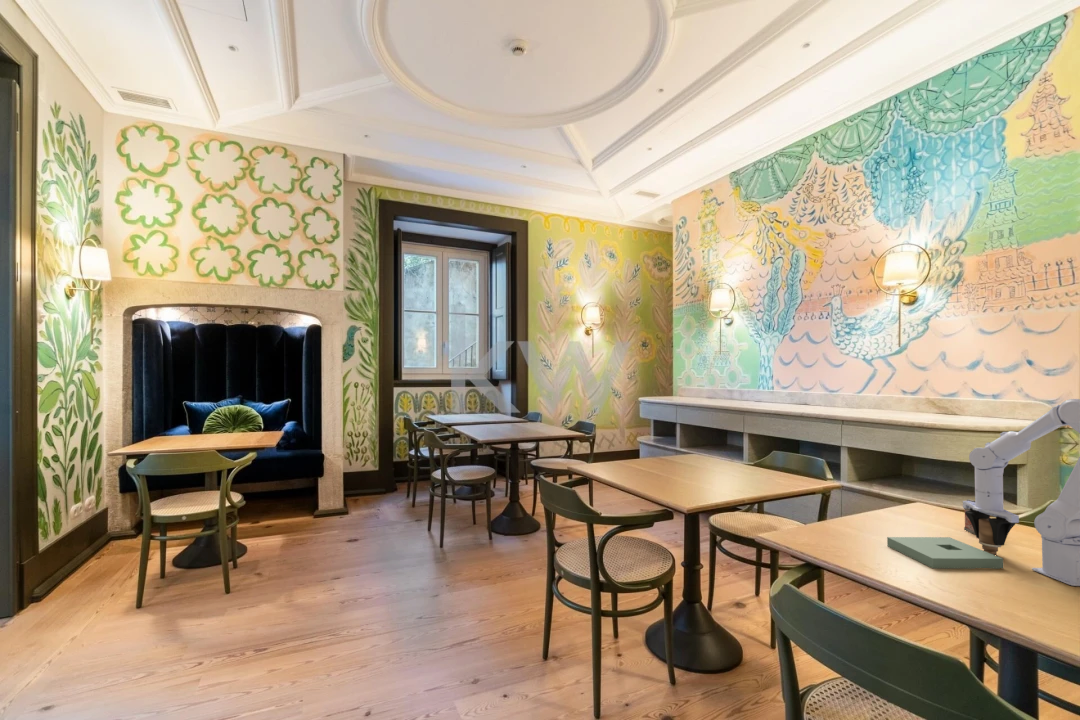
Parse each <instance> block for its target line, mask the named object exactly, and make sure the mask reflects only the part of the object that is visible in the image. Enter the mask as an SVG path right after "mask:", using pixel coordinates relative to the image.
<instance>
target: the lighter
mask: <svg viewBox="0 0 1080 720" xmlns="http://www.w3.org/2000/svg"><path fill="white" fill-rule="evenodd" d="M965 501H972V502H975V499H974V500H973V499H971V498H970V499H969V498H967V499H966V500H965ZM963 510H964V512H965V511H969V510H970V509H969V508H963ZM991 517H992V516H991V515H990V517H989V518H991ZM963 530H964V531H965V530H966V531H965V532H967V531H968V532H967V533H969V532H970V534H972V533H973V534H972V535H974V534H975V532H974V529H973V526H972V524H971V522H970V520H969V518H968V517H967V515H966V514H965V513H964V527H963Z"/></svg>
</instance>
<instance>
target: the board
mask: <svg viewBox="0 0 1080 720" xmlns="http://www.w3.org/2000/svg"><path fill="white" fill-rule="evenodd" d="M886 539H887V540H886V541H887V542H886V543H887V547H888V548H891V549H893V550H895V551H897V552H899V553H901V554H903V555H905V556H907V557H908V558H911V559H913V560H915V561H917V562H919V563H921V564H923V565H925V566H927V567H929V568H931V569H975V568H990V570H991V568H992V569H997V570H999V569H1000V568H1002V569H1004V558H1002V557H1000V556H997V555H996V556H995V555H993V554H990V553H988V552H985V551H984V549H983V550H982V549H980V548H977V547H975V546H972V545H970V544H967V543H965V542H962V541H960V540H958V539H955V538H952V537H949V536H947V537H946V536H945V537H941V536H937V537H936V536H935V537H934V536H933V537H931V536H920V537H919V536H917V537H915V536H899V537H898V536H887V538H886ZM1000 570H1001V569H1000Z"/></svg>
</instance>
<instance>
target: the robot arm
mask: <svg viewBox="0 0 1080 720" xmlns="http://www.w3.org/2000/svg"><path fill="white" fill-rule="evenodd" d="M1064 426H1069V427H1070V428H1071V429H1073V430H1074V431H1076V432H1078V433H1079V434H1080V398H1069V399H1067V400H1064V401H1062V402H1061V403H1060V404H1058V405H1055V406H1053V407H1051V409H1049V410H1048V411H1047V412H1046V413H1044V414H1043V415H1041V416H1040V417H1038V418H1037V419H1035V420H1034V421H1032V422H1031V423H1030V424H1028V425H1026V426H1024V427H1023V428H1022V429H1020V430H1019V431H1013V430H1011V431H1002V432H1000V433H999V437H998V438H996V439H995V440H992V441H991V442H986V443H985V444H984V447H975V448H973V449H972V451H971V452H970V453H969V456H968V458H969V459H968V460H969V462H970V464H971V465H972V466H973V467H974V498H975V499H974V501H975V502H972V501H966V500H962V508H963V509H964V508H969V509H970V510H969V511H965V510H964V515H965V514H966V515H967V517H968V518H969V520H970V522H971V524H972V526H973V529H974V532H975V537H976V539H979V519H988V520H989V522H990V525H991V528H992V532H993V541H994V544H995V545H1001V546H1005V543H1006V540H1007V538H1008V535H1009V534H1010V531H1011V530H1012V528H1013V527H1014V526H1016V524H1018V523H1020V519H1019V517H1020V515H1018V514H1015V513H1012V512H1011V511H1008V510H1006V509H1004V507H1005V506H1004V476H1003V475H1004V469H1005V468H1006V467H1007V466H1008V465H1009V461H1011V460H1013V459H1015V458H1017V457H1019V456H1020V455H1022V454H1024V453H1025V452H1027V451H1030V449H1031V447H1032V442H1034V441H1036V440H1038V439H1039V438H1041V437H1044V436H1046V435H1047V434H1049V433H1052V432H1053V431H1056V430H1057V429H1058V428H1062V427H1064ZM990 515H991V516H990ZM989 517H990V518H989ZM991 517H992V518H991ZM1033 521H1034V522H1033V523H1034V524H1033V525H1034V528H1035V529H1036V531H1037V532H1038V533H1039V534H1040V535H1041V536H1040V538H1041V563H1042V567H1032V568H1031V570H1032V571H1035V572H1037V573H1039V574H1041V575H1044V576H1046V577H1049V578H1052V579H1054V580H1057V581H1059V582H1062V583H1065V584H1066V585H1068V586H1071V587H1080V456H1078V459H1077V461H1076V463H1075V465H1074V467H1073V468H1072V471H1071V473H1070V474H1069V476H1068V478H1067V480H1066V481H1065V484H1064V486H1063V488H1062V490H1061V491H1060V494H1059V495H1058V497H1057V499H1056V500H1054V501H1053V502H1051V503H1050V504H1049V505H1048V506H1047V507H1046V509H1044V511H1043V512H1042V513H1040V514H1038V515H1036V517H1035V519H1034V520H1033Z"/></svg>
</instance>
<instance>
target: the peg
mask: <svg viewBox="0 0 1080 720" xmlns="http://www.w3.org/2000/svg"><path fill="white" fill-rule="evenodd" d="M978 543H979V544H980V545H981V550H982V549H983V551H985V552H988V553H990V554H993V555H996V556H997V552H998V551H999V548H1001V547H1002V545H995V544H994V541H993V532H992V528H991V525H990V522H989V520H988V519H979V538H978Z"/></svg>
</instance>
